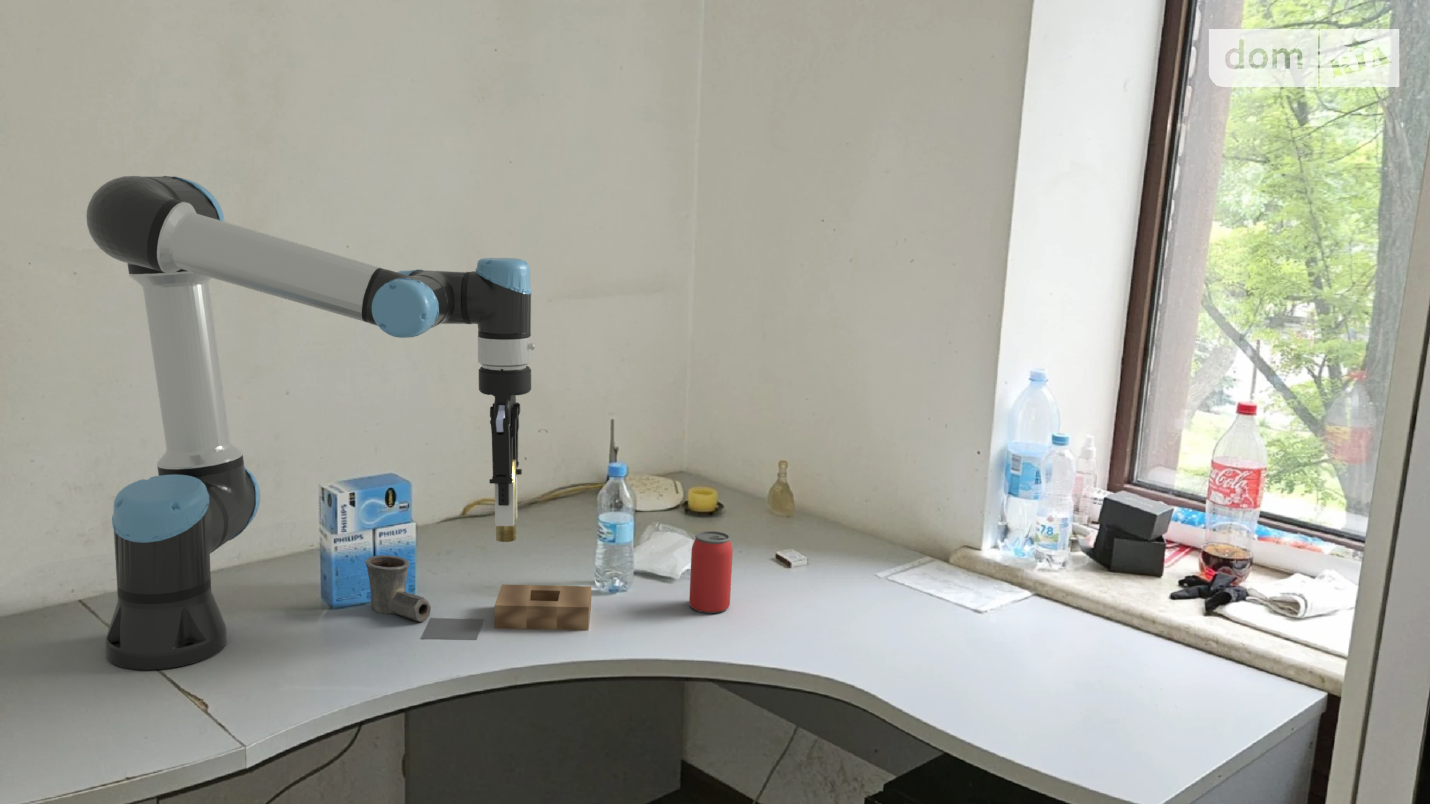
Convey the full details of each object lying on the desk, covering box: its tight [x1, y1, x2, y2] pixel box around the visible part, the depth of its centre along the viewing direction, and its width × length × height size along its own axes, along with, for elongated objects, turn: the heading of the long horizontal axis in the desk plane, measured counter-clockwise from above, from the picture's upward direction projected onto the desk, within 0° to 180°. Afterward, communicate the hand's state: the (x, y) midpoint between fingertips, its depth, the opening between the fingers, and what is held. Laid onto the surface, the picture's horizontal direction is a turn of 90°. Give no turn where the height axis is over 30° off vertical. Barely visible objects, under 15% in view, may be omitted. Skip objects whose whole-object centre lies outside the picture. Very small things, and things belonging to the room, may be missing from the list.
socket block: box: [493, 584, 592, 631], centre depth 173 cm, size 14×9×4 cm, turn 94°
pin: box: [495, 459, 517, 543], centre depth 167 cm, size 3×3×12 cm
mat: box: [420, 617, 485, 641], centre depth 168 cm, size 8×8×1 cm
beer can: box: [688, 530, 734, 614], centre depth 181 cm, size 7×7×12 cm
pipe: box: [365, 554, 432, 622], centre depth 173 cm, size 6×13×8 cm, turn 53°
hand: (506, 521), depth 168 cm, fingers closed on pin, 3 cm apart
